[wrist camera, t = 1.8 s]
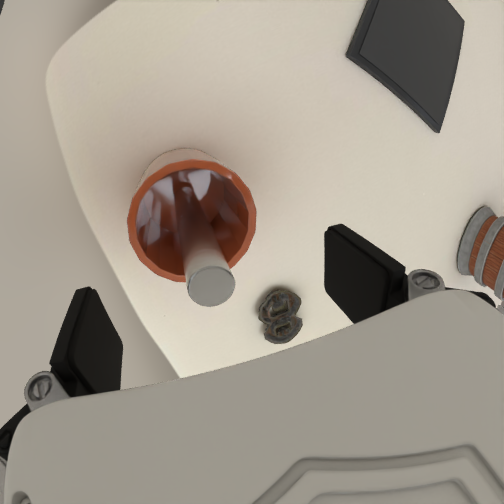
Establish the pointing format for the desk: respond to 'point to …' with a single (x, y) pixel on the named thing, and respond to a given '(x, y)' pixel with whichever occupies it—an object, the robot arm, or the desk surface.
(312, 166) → the desk surface
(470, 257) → the mug
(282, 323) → the corroded twin loop
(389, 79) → the tablet
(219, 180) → the holder
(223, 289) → the stylus
